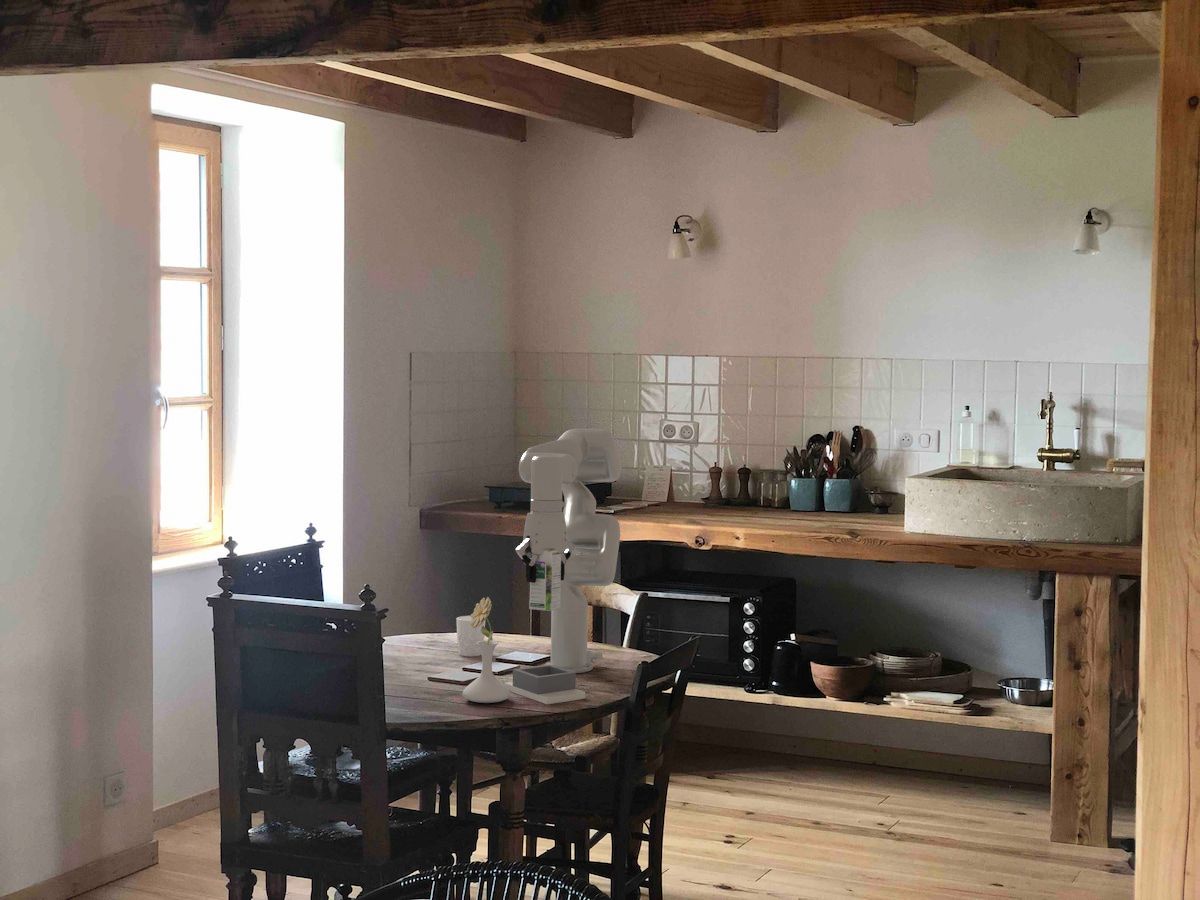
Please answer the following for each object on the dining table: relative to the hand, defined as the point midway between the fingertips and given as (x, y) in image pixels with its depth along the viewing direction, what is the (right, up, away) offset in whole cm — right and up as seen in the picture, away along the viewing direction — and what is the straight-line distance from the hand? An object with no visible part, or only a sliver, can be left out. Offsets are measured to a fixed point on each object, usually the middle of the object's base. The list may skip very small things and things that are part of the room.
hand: (545, 580), depth 328 cm
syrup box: (0, -7, 0) cm, 7 cm away
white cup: (-22, -25, +47) cm, 58 cm away
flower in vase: (-13, -28, -8) cm, 32 cm away
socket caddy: (0, -27, +2) cm, 27 cm away
